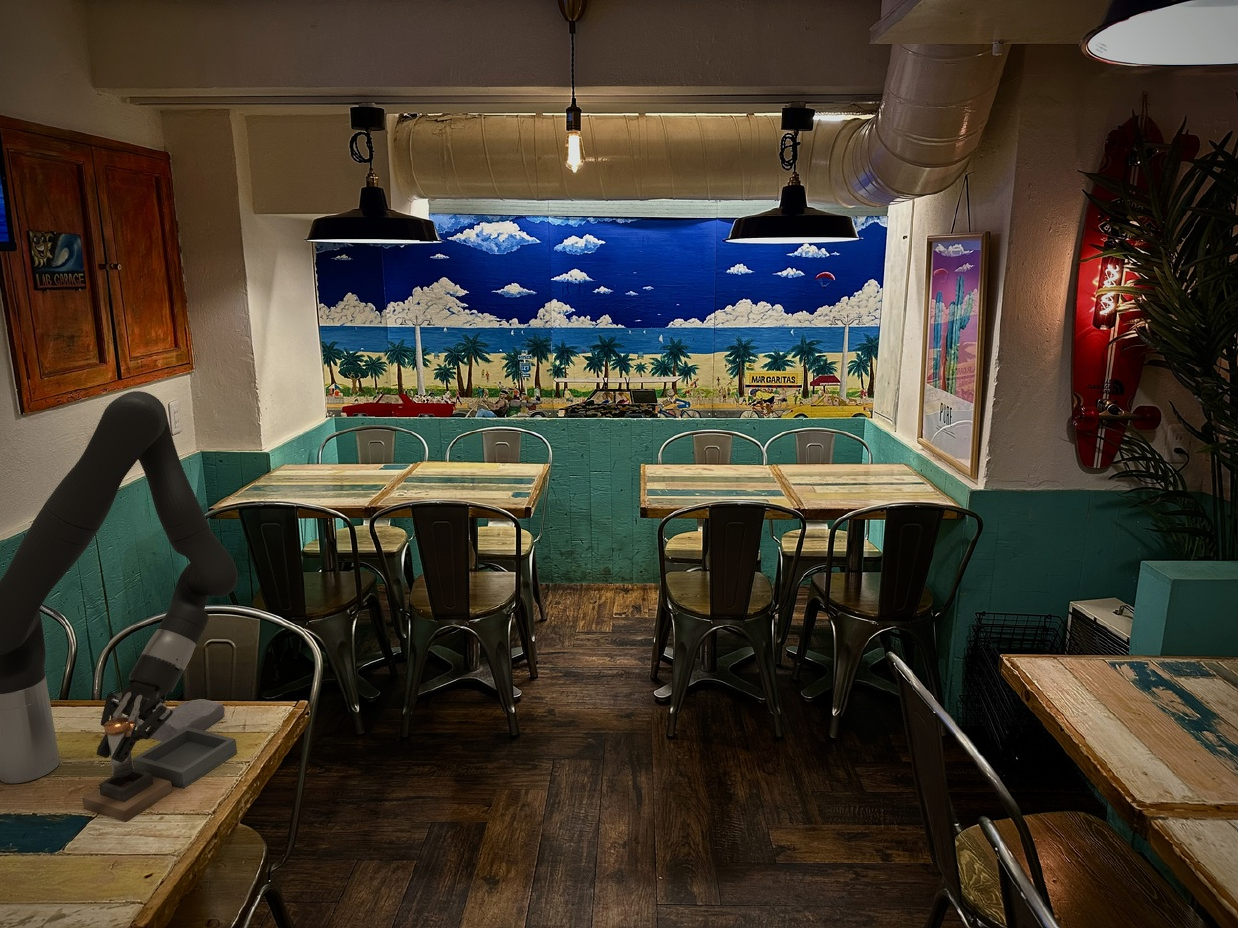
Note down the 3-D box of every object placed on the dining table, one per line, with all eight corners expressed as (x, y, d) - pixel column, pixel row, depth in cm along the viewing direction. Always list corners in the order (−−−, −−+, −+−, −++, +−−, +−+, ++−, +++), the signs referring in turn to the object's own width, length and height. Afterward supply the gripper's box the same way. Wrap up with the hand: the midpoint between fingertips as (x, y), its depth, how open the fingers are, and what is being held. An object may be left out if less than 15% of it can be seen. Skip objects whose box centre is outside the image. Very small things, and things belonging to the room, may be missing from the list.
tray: (134, 773, 157) (132, 758, 156) (189, 740, 167) (187, 726, 167) (183, 788, 152) (181, 772, 152) (237, 753, 163) (235, 738, 162)
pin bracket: (83, 808, 147) (80, 786, 146) (131, 779, 155) (128, 759, 154) (126, 821, 143) (123, 799, 142) (172, 791, 151) (169, 770, 150)
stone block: (146, 748, 169) (187, 745, 166) (139, 724, 168) (180, 721, 165) (191, 720, 180) (230, 717, 177) (185, 698, 179) (224, 695, 176)
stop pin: (105, 775, 147) (99, 725, 145) (124, 764, 150) (118, 715, 148) (121, 780, 146) (114, 730, 144) (140, 769, 149) (133, 719, 147)
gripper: (119, 646, 153) (62, 743, 145) (179, 659, 148) (123, 761, 140) (149, 662, 159) (96, 756, 151) (207, 675, 154) (155, 773, 146)
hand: (109, 758), depth 145 cm, fingers closed on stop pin, 3 cm apart
